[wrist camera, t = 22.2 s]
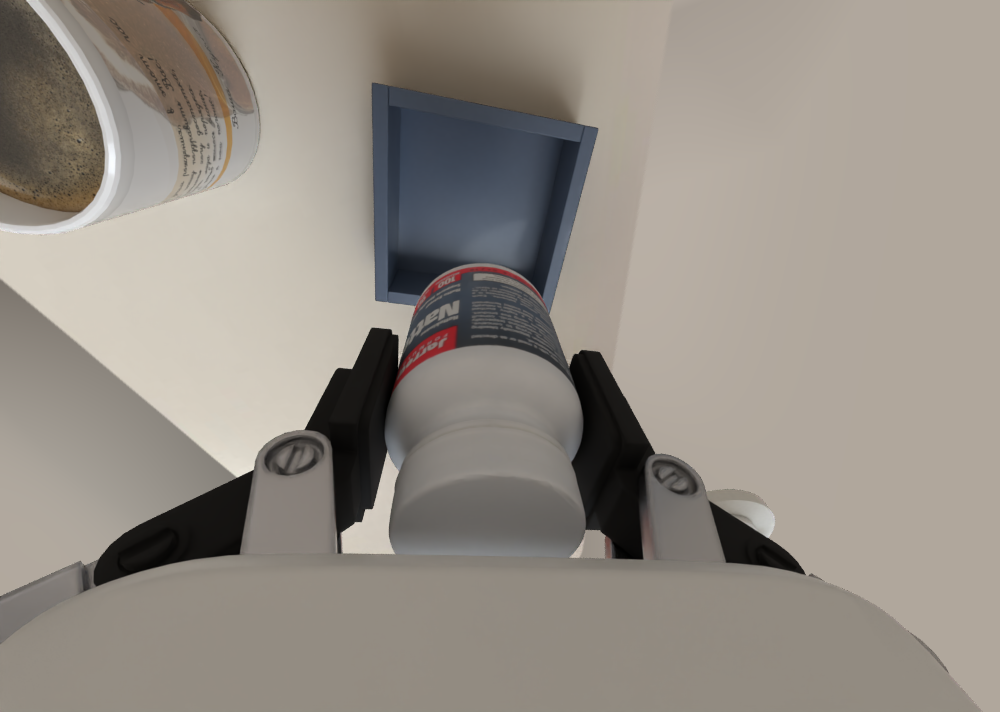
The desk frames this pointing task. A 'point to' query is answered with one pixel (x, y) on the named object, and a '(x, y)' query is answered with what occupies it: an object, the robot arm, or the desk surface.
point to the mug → (115, 110)
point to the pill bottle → (484, 424)
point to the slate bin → (470, 190)
